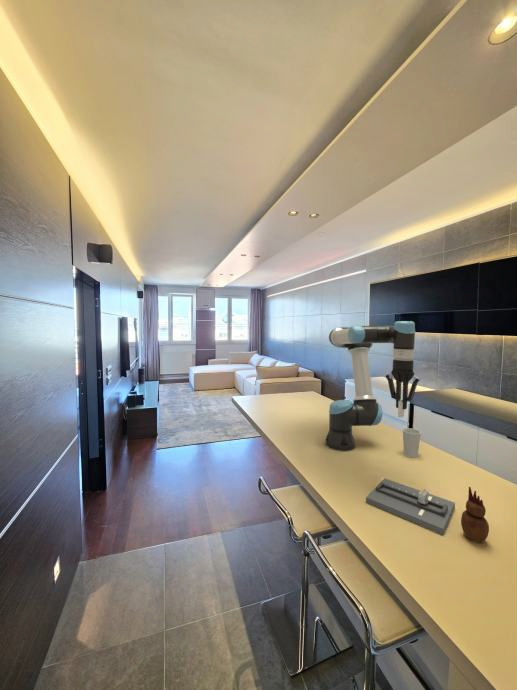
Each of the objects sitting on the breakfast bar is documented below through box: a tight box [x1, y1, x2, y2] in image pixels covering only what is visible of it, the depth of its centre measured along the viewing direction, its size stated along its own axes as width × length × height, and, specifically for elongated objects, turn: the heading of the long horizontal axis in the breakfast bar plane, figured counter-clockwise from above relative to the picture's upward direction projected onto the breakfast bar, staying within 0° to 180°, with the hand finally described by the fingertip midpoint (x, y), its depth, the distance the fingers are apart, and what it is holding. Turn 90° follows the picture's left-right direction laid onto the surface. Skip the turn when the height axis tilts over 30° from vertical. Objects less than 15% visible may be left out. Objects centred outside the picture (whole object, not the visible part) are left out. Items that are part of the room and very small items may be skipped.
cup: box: [402, 427, 422, 459], centre depth 144 cm, size 8×8×12 cm
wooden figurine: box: [460, 486, 490, 544], centre depth 88 cm, size 7×6×15 cm
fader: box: [417, 488, 429, 507], centre depth 101 cm, size 3×4×5 cm, turn 137°
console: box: [365, 478, 456, 536], centre depth 104 cm, size 24×18×4 cm
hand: (400, 416), depth 121 cm, fingers closed
